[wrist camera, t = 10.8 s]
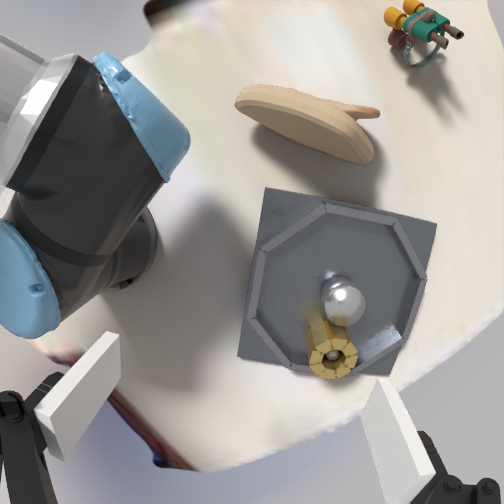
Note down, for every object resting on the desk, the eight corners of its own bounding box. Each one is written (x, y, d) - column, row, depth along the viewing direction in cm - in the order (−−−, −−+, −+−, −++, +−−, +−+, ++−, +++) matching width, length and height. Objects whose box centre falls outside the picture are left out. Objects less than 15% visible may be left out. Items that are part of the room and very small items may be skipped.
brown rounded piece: (301, 108, 43) (396, 130, 35) (278, 152, 44) (374, 183, 36) (252, 50, 32) (369, 58, 24) (221, 101, 33) (340, 122, 24)
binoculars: (421, 35, 35) (416, -14, 26) (468, 66, 31) (473, 15, 22) (384, 61, 37) (374, 9, 28) (432, 95, 33) (434, 42, 24)
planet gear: (311, 315, 42) (316, 336, 37) (352, 321, 42) (363, 341, 36) (301, 352, 44) (305, 376, 38) (341, 357, 44) (349, 380, 38)
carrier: (238, 351, 46) (232, 376, 40) (265, 187, 40) (264, 189, 34) (386, 369, 46) (399, 393, 39) (432, 222, 40) (455, 230, 33)
